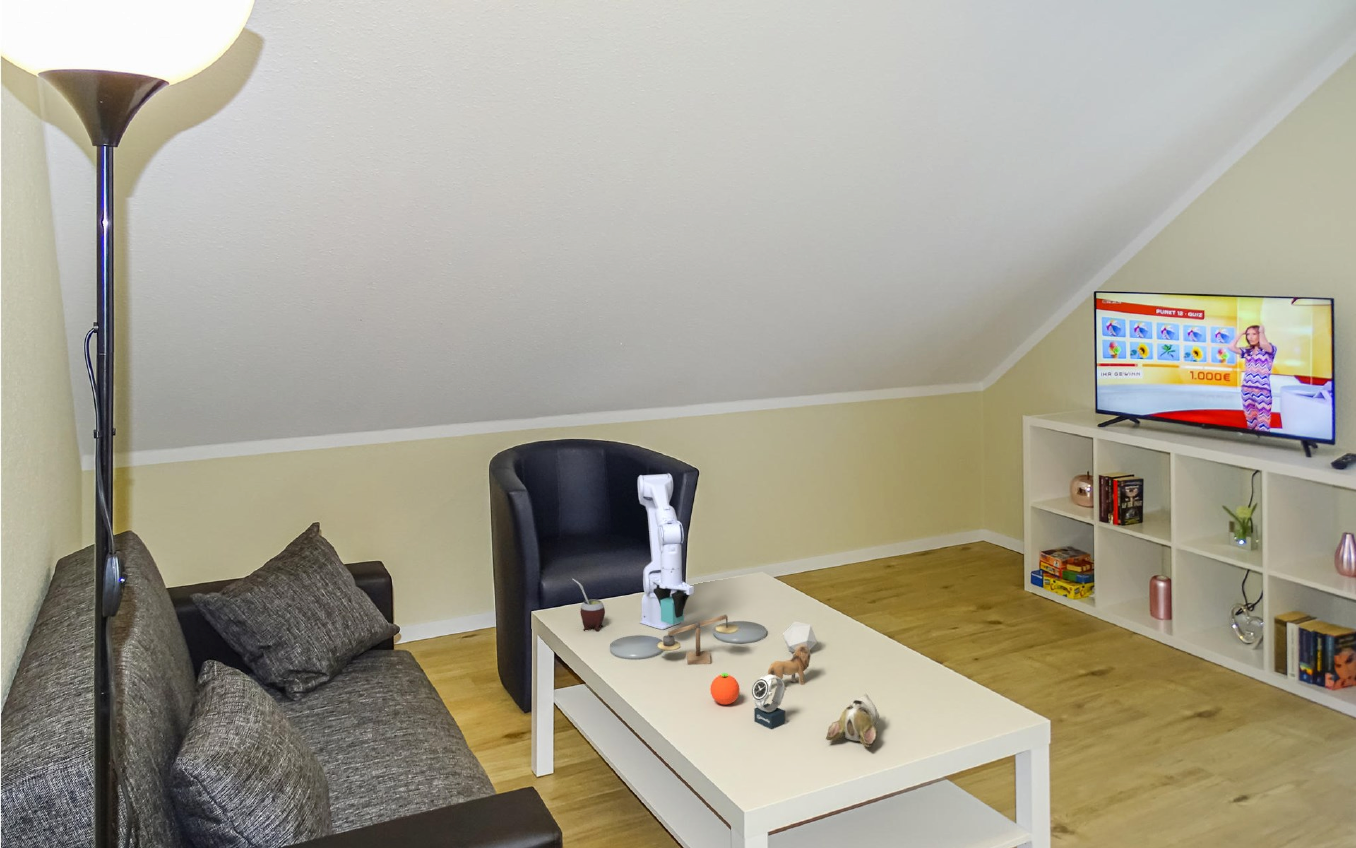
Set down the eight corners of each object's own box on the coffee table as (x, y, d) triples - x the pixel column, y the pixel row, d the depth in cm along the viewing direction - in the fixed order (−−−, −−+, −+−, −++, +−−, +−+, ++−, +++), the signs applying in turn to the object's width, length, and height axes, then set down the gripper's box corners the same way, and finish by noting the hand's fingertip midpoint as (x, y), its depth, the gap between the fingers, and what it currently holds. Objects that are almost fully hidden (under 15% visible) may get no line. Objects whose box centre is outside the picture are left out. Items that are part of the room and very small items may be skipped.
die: (822, 653, 274) (813, 619, 279) (814, 648, 267) (805, 613, 271) (794, 662, 276) (785, 628, 281) (785, 657, 269) (776, 622, 273)
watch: (748, 724, 231) (747, 677, 229) (773, 714, 236) (773, 668, 234) (765, 732, 227) (765, 685, 225) (790, 721, 232) (790, 675, 230)
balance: (658, 665, 267) (657, 621, 265) (657, 657, 273) (656, 613, 271) (739, 662, 267) (739, 618, 266) (737, 654, 273) (736, 611, 271)
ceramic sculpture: (889, 690, 226) (871, 721, 213) (890, 726, 228) (871, 759, 214) (842, 683, 231) (822, 713, 217) (843, 719, 232) (823, 750, 219)
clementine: (710, 695, 247) (710, 667, 246) (739, 695, 247) (738, 667, 246) (710, 709, 239) (710, 680, 238) (740, 709, 239) (739, 680, 238)
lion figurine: (800, 674, 259) (800, 640, 257) (815, 680, 254) (815, 646, 253) (758, 690, 250) (757, 655, 248) (773, 696, 245) (773, 661, 244)
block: (660, 621, 280) (660, 600, 279) (672, 617, 283) (671, 596, 282) (673, 624, 277) (672, 603, 276) (684, 620, 280) (683, 599, 279)
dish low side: (598, 650, 278) (598, 646, 278) (637, 635, 289) (637, 631, 289) (637, 663, 268) (636, 659, 268) (676, 648, 279) (675, 643, 279)
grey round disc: (702, 635, 288) (702, 631, 288) (736, 621, 299) (736, 617, 299) (743, 647, 278) (743, 643, 278) (777, 633, 289) (777, 628, 289)
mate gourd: (609, 629, 295) (608, 579, 293) (585, 635, 290) (584, 584, 288) (597, 622, 301) (595, 573, 299) (573, 628, 297) (571, 578, 294)
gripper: (642, 565, 280) (643, 613, 282) (681, 575, 270) (682, 624, 272) (659, 559, 285) (660, 606, 287) (698, 569, 275) (699, 617, 277)
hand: (672, 614), depth 280 cm, fingers closed on block, 4 cm apart
